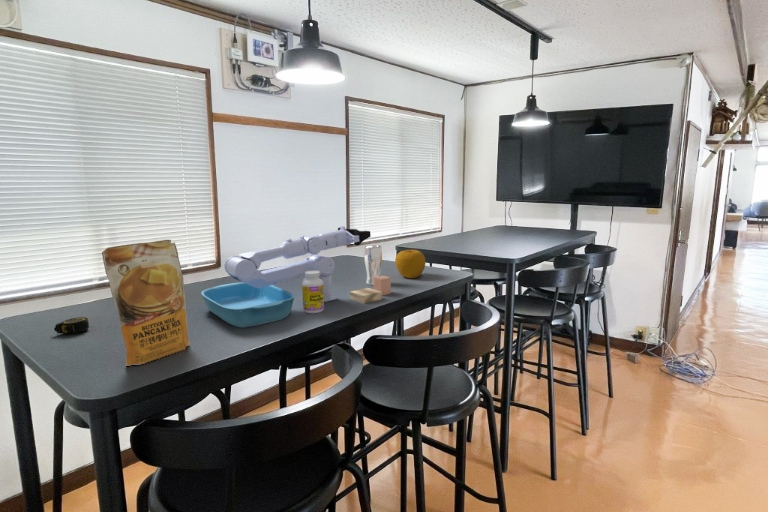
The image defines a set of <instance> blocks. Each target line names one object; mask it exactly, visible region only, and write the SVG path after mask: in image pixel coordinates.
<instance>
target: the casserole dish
mask: <svg viewBox="0 0 768 512" xmlns="http://www.w3.org/2000/svg"><path fill="white" fill-rule="evenodd" d="M201 297H202V299H203V300H204V303H205V306H206V307H207V308H208V310H209V312H211V313H213V314H214V315H215V316H217V317H218V318H220V319H221V320H223V322H224V321H225V322H226V323H228V324H230V325H232V326H233V327H237V328H243V329H244V328H249V327H255V326H260V325H265V324H269V323H273V322H277V321H281V320H284V319H285V318H286V317H287V316H288V315H290V312H291V310H292V307H293V303H294V299H295V294H294V293H292V292H289V291H287V290H285V289H283V288H280V287H277V286H275V285H274V284H273V285H270V286H266V287H262V288H255V287H253V286H250V285H248V284H245V283H243V282H232V283H228V284H227V283H226V284H222V285H221V284H220V285H216V286H213V287H209V288H206V289H203V290H202V291H201Z"/></svg>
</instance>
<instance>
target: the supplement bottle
mask: <svg viewBox="0 0 768 512" xmlns="http://www.w3.org/2000/svg"><path fill="white" fill-rule="evenodd" d="M319 276H320V271H315V270H312V271H306V272H305V276H304V278H306V279H305V280H304V281H303V280H302V282H301V283H302V285H301V287H302V298H303V300H302V309H303V310H302V311H303V312H305V313H306V314H319V313H322V312H323V311H324V310H325V302H324V292H323V281H322V280H321V279H319Z"/></svg>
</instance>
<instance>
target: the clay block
mask: <svg viewBox="0 0 768 512" xmlns="http://www.w3.org/2000/svg"><path fill="white" fill-rule="evenodd" d="M372 286H373V289H374V290H377V291H381V292H382V296H386V295H390V294H392V279H391V277H390V276H386V275H380V276H378V277H373V285H372Z"/></svg>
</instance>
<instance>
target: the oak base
mask: <svg viewBox="0 0 768 512" xmlns="http://www.w3.org/2000/svg"><path fill="white" fill-rule="evenodd" d="M349 299H350V300H352V301H355V302H359V303H361V304H368V303H371V302H376V301H379V300H380V301H381V300H383V295H382V292H381V291H377V290H374V288H369V287H365V288H360V289H357V290H352V291H349Z"/></svg>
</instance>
